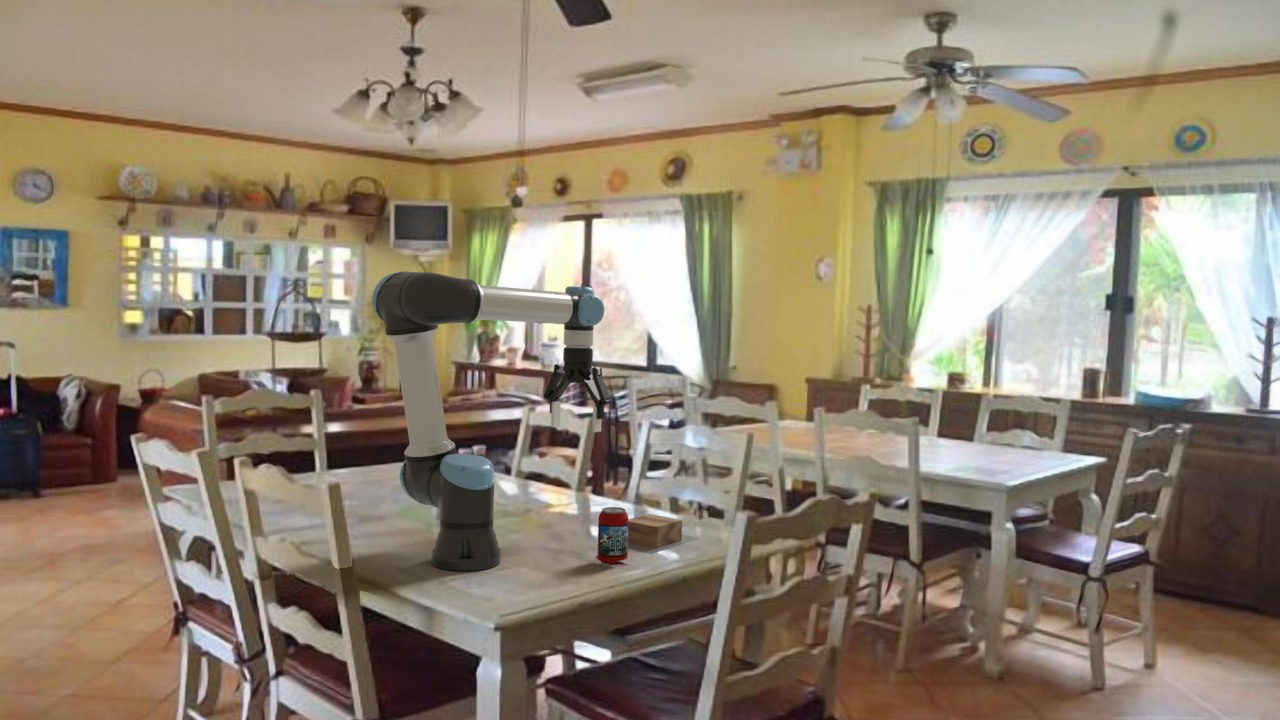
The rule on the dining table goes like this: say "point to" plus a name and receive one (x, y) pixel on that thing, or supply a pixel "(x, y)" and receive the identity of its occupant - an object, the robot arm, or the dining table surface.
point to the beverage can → (612, 535)
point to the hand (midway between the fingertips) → (575, 429)
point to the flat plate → (653, 550)
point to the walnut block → (654, 530)
